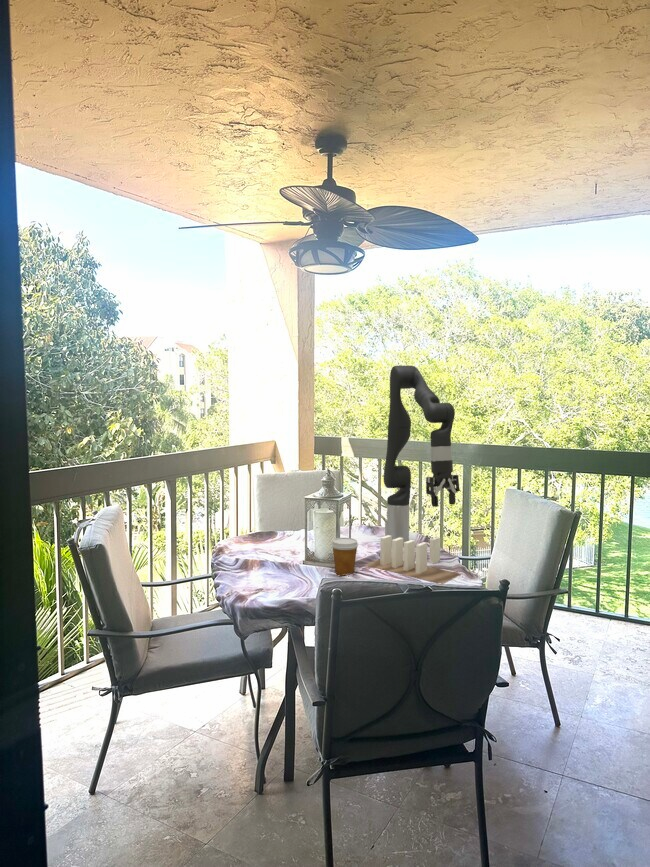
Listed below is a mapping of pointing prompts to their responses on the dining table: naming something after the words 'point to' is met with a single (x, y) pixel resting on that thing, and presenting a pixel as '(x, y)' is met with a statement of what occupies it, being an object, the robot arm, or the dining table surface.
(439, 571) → the walnut board
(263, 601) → the dining table surface
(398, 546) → the domino
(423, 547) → the domino
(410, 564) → the domino
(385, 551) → the domino
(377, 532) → the dining table surface
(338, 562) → the disposable coffee cup
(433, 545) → the domino
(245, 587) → the dining table surface
